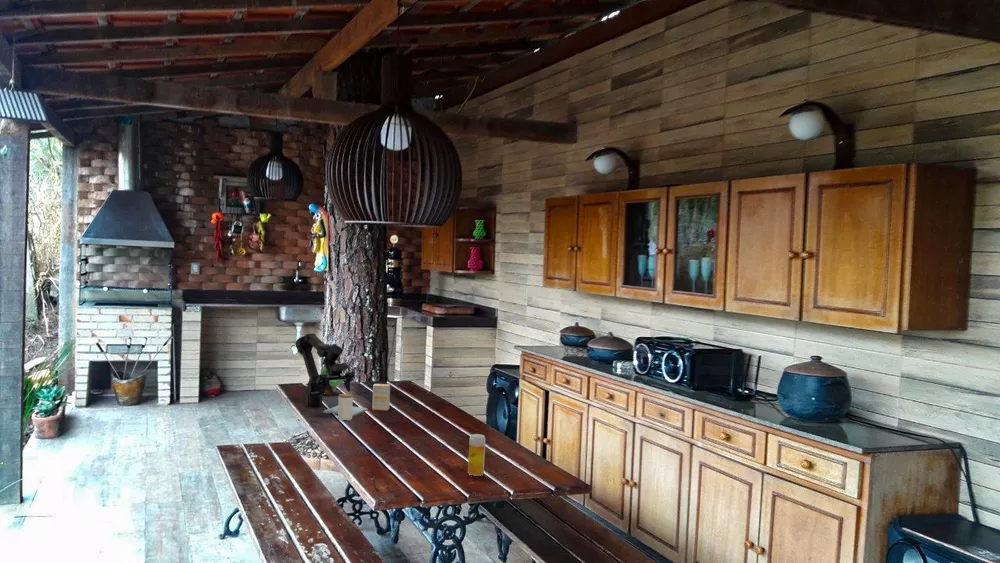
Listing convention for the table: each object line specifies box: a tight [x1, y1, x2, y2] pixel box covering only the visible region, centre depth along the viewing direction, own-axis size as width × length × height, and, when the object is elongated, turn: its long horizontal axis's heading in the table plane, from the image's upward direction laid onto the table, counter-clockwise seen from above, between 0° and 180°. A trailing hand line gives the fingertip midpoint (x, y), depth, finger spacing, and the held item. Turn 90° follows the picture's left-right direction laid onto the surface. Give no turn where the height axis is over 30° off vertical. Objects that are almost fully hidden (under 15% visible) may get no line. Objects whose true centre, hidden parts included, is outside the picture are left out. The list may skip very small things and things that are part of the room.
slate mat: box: [323, 405, 369, 417], centre depth 367 cm, size 16×16×1 cm
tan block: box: [337, 393, 354, 421], centre depth 350 cm, size 5×5×12 cm
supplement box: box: [371, 383, 391, 412], centre depth 375 cm, size 8×5×13 cm, turn 84°
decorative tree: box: [320, 342, 344, 396], centre depth 406 cm, size 14×16×30 cm
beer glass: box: [467, 433, 487, 477], centre depth 274 cm, size 6×6×15 cm
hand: (340, 392), depth 354 cm, fingers open, 9 cm apart
